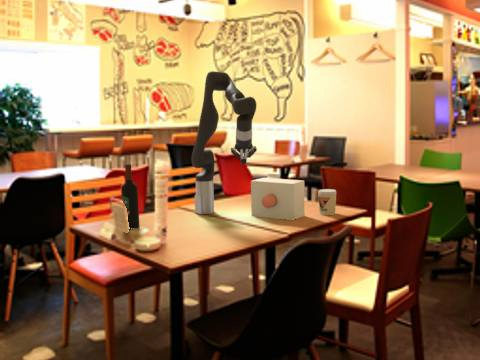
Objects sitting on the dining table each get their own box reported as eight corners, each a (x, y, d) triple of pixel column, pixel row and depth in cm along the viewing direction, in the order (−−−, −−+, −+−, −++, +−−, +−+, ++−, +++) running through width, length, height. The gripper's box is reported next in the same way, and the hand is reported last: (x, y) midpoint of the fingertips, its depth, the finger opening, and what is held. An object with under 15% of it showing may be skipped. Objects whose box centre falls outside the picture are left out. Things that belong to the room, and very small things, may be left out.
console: (293, 220, 270) (292, 183, 267) (251, 215, 283) (250, 180, 280) (304, 215, 280) (304, 180, 277) (263, 211, 293) (263, 177, 290)
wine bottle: (138, 229, 260) (135, 165, 255) (122, 229, 259) (118, 165, 255) (140, 225, 267) (137, 163, 263) (124, 226, 266) (120, 164, 262)
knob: (273, 208, 270) (272, 195, 269) (261, 207, 274) (261, 194, 273) (282, 205, 278) (282, 192, 277) (271, 204, 282) (271, 191, 281)
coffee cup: (314, 213, 285) (314, 190, 283) (327, 211, 290) (327, 188, 288) (327, 216, 277) (327, 192, 276) (340, 213, 283) (340, 190, 281)
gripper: (256, 129, 261) (255, 157, 273) (228, 131, 260) (229, 159, 272) (259, 139, 256) (258, 167, 268) (230, 141, 255) (230, 169, 266)
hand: (243, 163), depth 270 cm, fingers closed
